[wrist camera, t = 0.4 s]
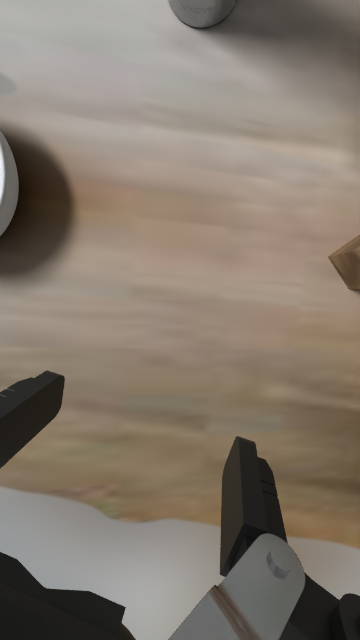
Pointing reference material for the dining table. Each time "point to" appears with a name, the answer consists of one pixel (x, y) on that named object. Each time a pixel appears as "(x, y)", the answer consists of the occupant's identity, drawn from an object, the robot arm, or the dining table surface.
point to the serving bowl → (7, 184)
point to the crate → (348, 263)
